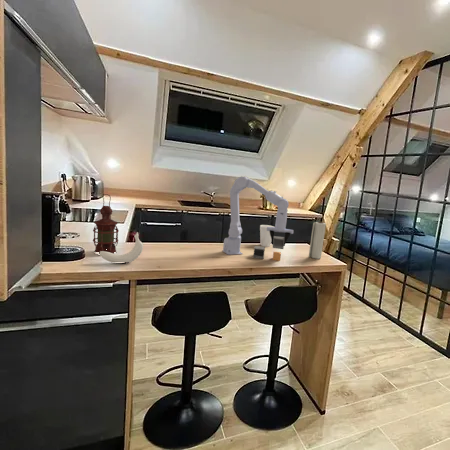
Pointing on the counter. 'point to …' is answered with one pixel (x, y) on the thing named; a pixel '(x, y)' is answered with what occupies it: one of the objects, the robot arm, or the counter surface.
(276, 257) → the orange block
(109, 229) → the lantern
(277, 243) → the open grey box
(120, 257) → the banana
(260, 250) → the grey hollow cube
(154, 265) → the counter surface
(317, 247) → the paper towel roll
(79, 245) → the counter surface
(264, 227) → the foam cup
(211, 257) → the counter surface
